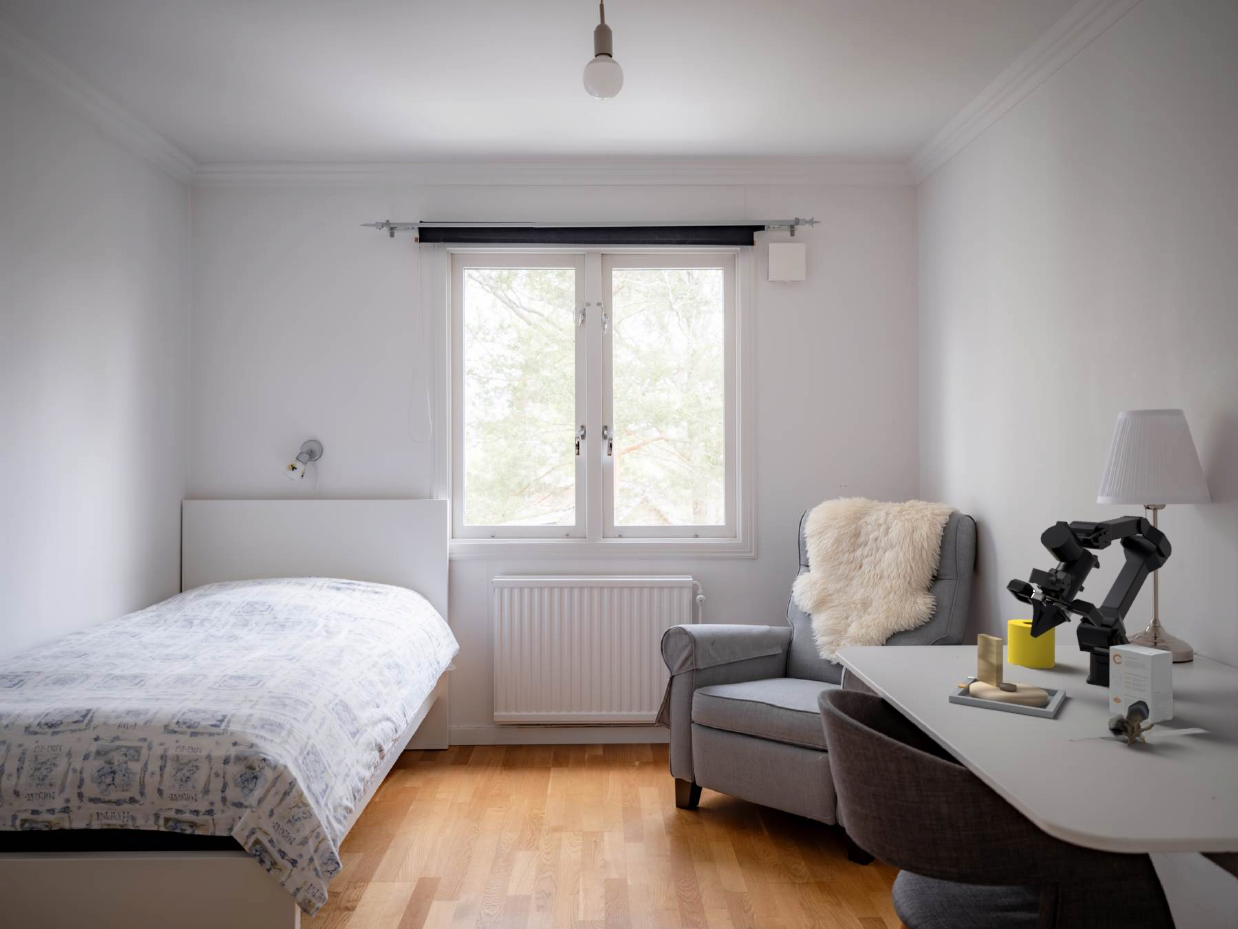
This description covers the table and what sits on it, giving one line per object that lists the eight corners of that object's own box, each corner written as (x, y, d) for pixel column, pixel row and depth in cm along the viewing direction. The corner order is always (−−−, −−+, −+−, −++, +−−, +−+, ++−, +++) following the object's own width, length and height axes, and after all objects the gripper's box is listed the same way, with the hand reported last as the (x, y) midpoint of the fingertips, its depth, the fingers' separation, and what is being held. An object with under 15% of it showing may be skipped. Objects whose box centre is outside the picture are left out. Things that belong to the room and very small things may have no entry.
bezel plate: (970, 685, 179) (970, 675, 179) (1065, 700, 168) (1065, 688, 168) (948, 706, 164) (948, 694, 164) (1052, 722, 153) (1052, 710, 153)
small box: (1173, 723, 154) (1173, 651, 154) (1151, 728, 151) (1152, 655, 151) (1129, 711, 161) (1130, 643, 161) (1108, 715, 158) (1108, 646, 158)
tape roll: (1036, 670, 192) (1037, 629, 192) (998, 661, 201) (998, 621, 201) (1064, 665, 197) (1064, 625, 197) (1025, 656, 206) (1025, 618, 206)
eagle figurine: (1169, 745, 138) (1160, 720, 146) (1143, 708, 139) (1135, 685, 147) (1123, 762, 142) (1117, 737, 150) (1097, 726, 142) (1093, 703, 150)
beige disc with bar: (1065, 705, 161) (1065, 648, 161) (1002, 711, 157) (1003, 652, 157) (1009, 685, 176) (1009, 632, 175) (951, 689, 172) (951, 635, 172)
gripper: (1013, 542, 180) (976, 603, 177) (1097, 565, 163) (1057, 633, 161) (1036, 569, 185) (1000, 629, 182) (1120, 594, 169) (1081, 660, 166)
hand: (1032, 636), depth 173 cm, fingers closed
